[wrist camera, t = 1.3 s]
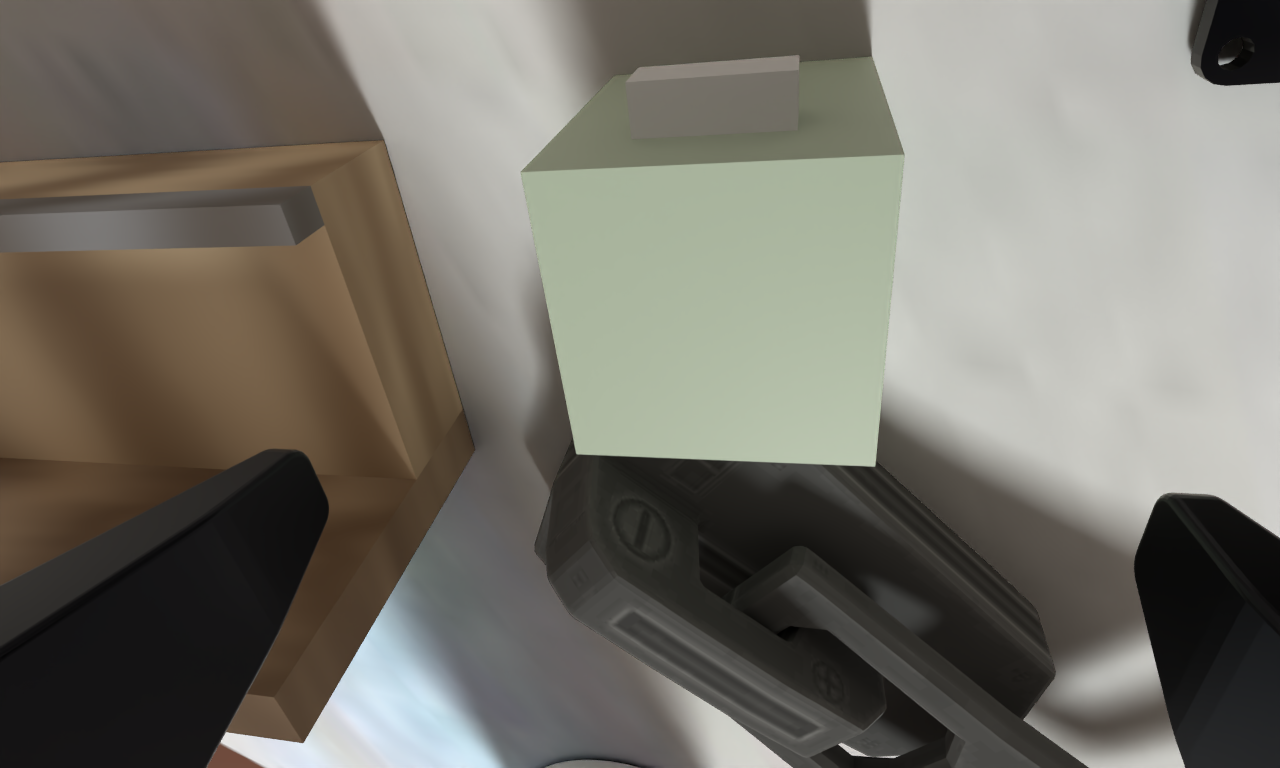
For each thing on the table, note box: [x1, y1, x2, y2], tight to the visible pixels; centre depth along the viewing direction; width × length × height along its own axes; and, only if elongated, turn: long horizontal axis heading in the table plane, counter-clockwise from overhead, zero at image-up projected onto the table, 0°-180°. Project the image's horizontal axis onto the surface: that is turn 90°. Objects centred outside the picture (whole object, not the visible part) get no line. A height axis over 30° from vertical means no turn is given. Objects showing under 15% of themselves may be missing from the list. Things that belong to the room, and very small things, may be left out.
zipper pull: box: [535, 439, 1088, 768], centre depth 20 cm, size 9×7×25 cm
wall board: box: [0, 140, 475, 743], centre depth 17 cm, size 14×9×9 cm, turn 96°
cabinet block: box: [521, 55, 905, 467], centre depth 13 cm, size 5×6×6 cm
